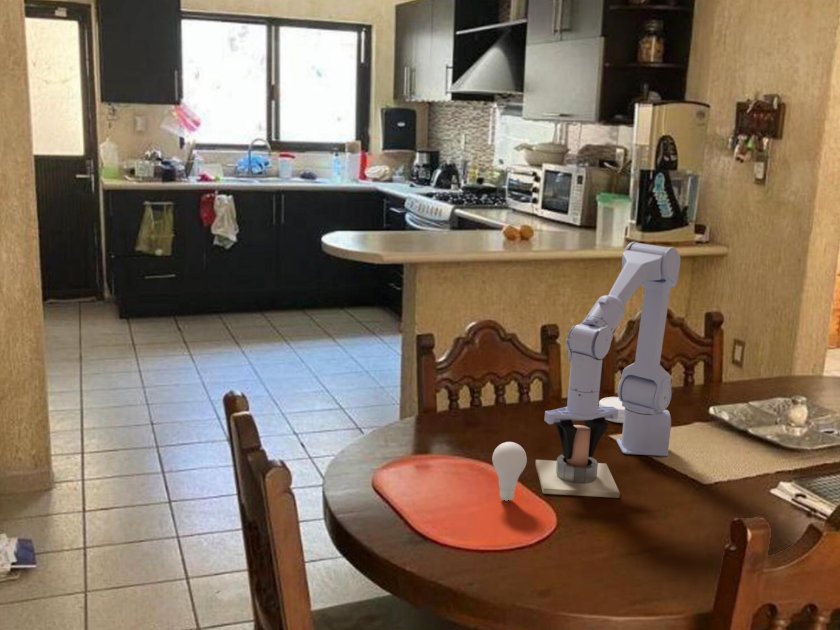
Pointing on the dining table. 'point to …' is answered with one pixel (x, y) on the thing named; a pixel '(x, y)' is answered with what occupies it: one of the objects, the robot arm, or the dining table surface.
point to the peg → (580, 447)
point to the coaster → (614, 403)
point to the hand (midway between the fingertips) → (577, 456)
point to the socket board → (576, 478)
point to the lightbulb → (508, 467)
